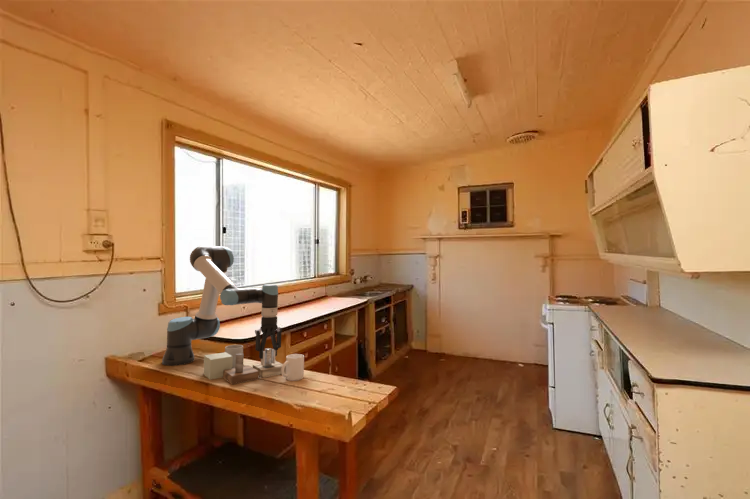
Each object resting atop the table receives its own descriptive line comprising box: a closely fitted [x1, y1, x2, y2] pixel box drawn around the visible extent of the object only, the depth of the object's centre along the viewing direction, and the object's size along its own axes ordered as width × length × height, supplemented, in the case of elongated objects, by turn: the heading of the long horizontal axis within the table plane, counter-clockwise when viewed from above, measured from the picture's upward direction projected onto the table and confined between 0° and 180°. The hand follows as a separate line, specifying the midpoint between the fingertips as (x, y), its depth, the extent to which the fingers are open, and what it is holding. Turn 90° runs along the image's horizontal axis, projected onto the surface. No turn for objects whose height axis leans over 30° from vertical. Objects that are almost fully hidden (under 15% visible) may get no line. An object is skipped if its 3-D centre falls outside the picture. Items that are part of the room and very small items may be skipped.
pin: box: [264, 347, 273, 369], centre depth 168 cm, size 3×3×12 cm
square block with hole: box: [252, 360, 286, 379], centre depth 169 cm, size 12×12×4 cm
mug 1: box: [224, 344, 244, 368], centre depth 181 cm, size 11×10×10 cm
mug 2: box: [280, 353, 305, 382], centre depth 160 cm, size 12×8×10 cm
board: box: [222, 353, 260, 385], centre depth 160 cm, size 12×12×12 cm
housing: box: [202, 351, 233, 381], centre depth 165 cm, size 10×10×9 cm
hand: (267, 363), depth 167 cm, fingers open, 5 cm apart
